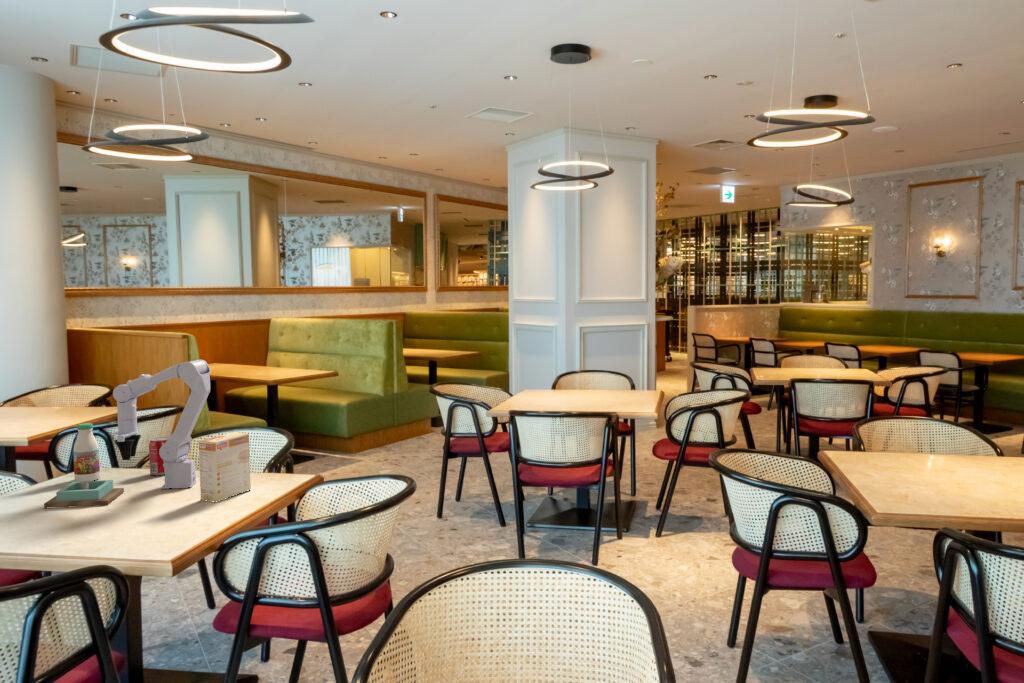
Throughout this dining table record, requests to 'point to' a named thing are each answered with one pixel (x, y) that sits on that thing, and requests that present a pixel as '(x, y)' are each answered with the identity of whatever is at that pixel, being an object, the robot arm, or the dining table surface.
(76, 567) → the dining table surface
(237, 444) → the coffeecake box
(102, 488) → the teal square frame
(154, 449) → the soda can
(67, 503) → the board
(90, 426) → the milk bottle
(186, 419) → the robot arm
